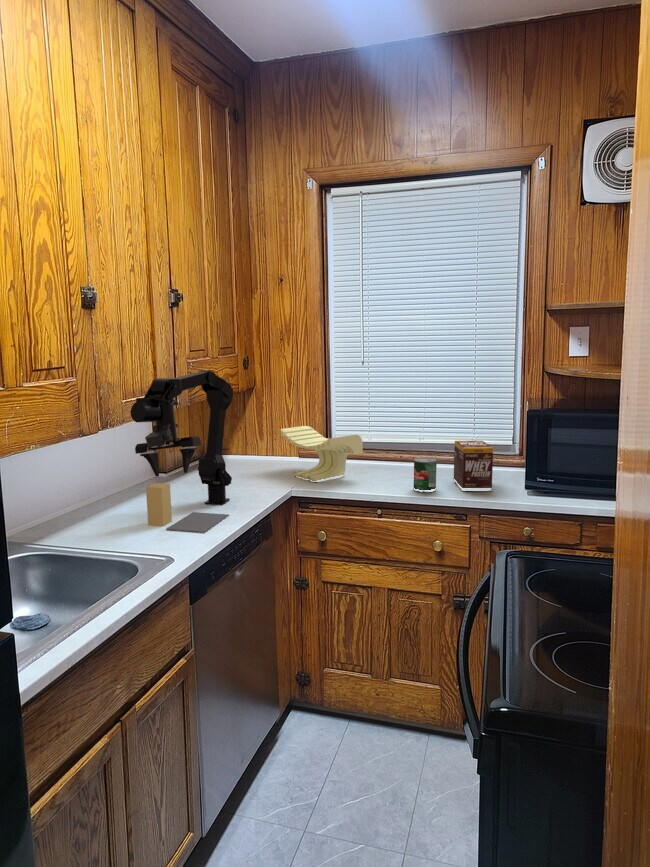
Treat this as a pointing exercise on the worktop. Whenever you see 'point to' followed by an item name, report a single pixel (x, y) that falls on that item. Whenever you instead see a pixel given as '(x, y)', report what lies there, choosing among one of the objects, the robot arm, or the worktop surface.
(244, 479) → the worktop surface
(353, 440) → the slatted curved stool
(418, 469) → the canned tomato
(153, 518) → the ochre block
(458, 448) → the supplement box
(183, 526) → the slate mat
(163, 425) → the robot arm
